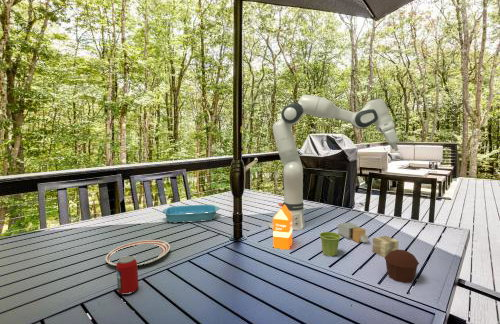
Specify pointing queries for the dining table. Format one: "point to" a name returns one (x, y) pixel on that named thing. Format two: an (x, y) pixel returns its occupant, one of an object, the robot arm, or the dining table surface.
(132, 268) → the beverage can
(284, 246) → the orange juice
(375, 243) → the socket block
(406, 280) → the muffin
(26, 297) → the dining table surface
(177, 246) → the dining table surface
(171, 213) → the casserole dish
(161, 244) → the beige round ring
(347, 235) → the outer sleeve
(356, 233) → the tube
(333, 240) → the plant pot
